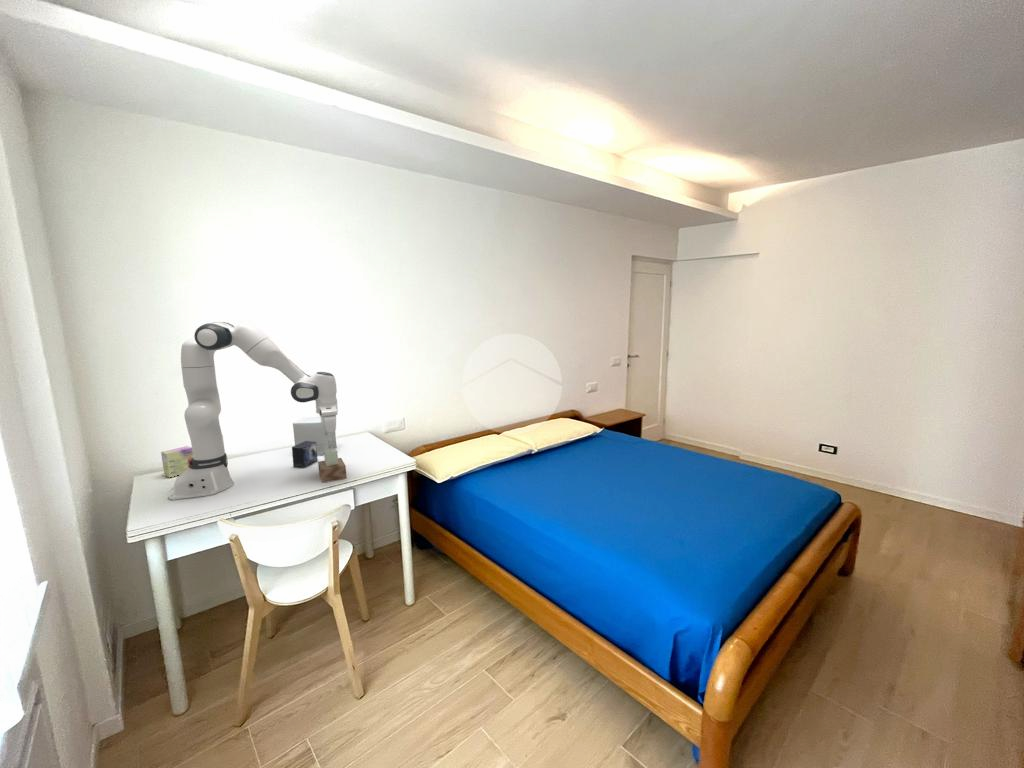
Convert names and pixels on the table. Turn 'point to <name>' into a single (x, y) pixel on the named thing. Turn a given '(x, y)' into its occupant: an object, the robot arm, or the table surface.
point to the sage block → (331, 457)
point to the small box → (304, 454)
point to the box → (176, 460)
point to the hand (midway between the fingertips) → (328, 438)
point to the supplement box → (313, 434)
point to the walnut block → (332, 471)
